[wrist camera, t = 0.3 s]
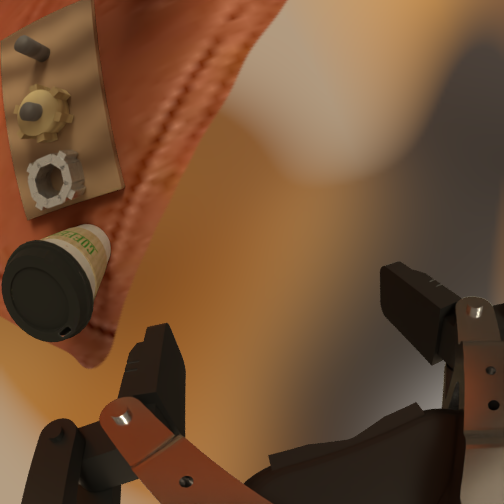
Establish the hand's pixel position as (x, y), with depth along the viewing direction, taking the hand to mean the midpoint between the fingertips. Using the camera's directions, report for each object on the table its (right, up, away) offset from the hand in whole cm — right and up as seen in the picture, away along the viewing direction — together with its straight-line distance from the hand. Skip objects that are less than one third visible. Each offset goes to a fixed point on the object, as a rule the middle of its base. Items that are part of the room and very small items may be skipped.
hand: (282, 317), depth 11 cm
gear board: (-25, +20, +19) cm, 37 cm away
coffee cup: (-22, +3, +26) cm, 34 cm away
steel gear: (-23, +11, +21) cm, 33 cm away
